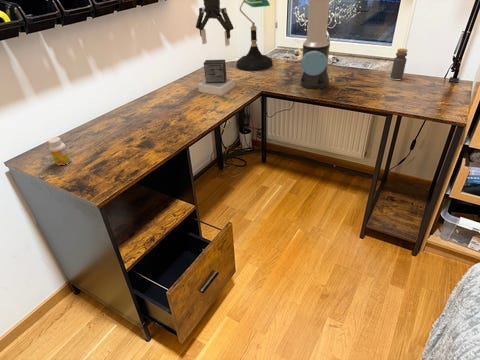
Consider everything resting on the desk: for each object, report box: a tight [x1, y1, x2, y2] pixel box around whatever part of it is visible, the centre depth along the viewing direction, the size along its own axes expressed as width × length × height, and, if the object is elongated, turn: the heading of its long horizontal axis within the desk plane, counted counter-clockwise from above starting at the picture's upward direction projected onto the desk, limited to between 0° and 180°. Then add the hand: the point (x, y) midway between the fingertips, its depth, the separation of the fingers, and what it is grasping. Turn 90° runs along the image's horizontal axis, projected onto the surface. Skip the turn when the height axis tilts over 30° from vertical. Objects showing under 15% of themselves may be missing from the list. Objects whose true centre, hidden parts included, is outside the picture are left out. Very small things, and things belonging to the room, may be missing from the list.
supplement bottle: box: [48, 136, 72, 166], centre depth 122 cm, size 5×5×10 cm
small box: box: [203, 59, 228, 83], centre depth 173 cm, size 11×6×10 cm, turn 84°
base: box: [197, 77, 236, 96], centre depth 177 cm, size 14×14×4 cm
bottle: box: [390, 48, 409, 79], centre depth 173 cm, size 6×6×15 cm
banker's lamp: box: [235, 0, 274, 72], centre depth 197 cm, size 26×23×40 cm
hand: (215, 44), depth 165 cm, fingers open, 13 cm apart
